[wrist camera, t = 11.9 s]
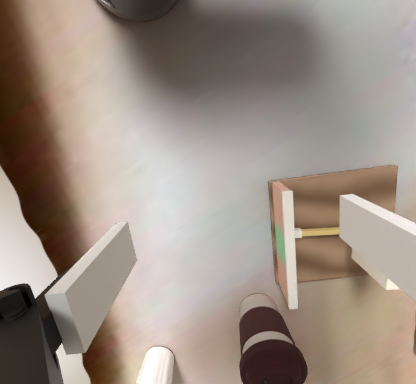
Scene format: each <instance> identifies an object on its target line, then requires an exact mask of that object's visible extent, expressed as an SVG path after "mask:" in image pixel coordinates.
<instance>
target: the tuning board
mask: <svg viewBox="0 0 416 384" xmlns="http://www.w3.org/2000/svg"><path fill="white" fill-rule="evenodd" d="M397 169H398V166H395V165H389V166H381V167H373V168H365V169H358V170H350V171H342V172H334V173H327V174H319V175H311V176H303V177H296V178H288V179H280V180H272V181H268V188H269V202H270V216H271V230H272V243H273V257H274V271H275V281H276V283H277V284H279V278H278V263H277V248H276V234H275V219H274V204H273V189H272V182H278V181H279V182H281V183H282V184H283V185H284V186H286V187H287V188H288V189H289V190H291V191H293V207H294V228H300V229H315V228H333V227H339V221H340V195H348V194H354V195H356V196H358V197H360V198H363V199H365V200H367V201H369V202H371V203H373V204H375V205H378V206H380V207H382V208H384V209H386V210H388V211H390V212H392V213H394V211H395V197H396V183H397ZM295 252H296V274H297V282H301V281H310V280H319V279H328V278H338V277H347V276H356V275H365V274H368V273H367V272H366V271H365V270H364V269H363V268H362V267H361V266H360V265H359V264H358V263H357V262H355V261H354V260H353V259H352V258H351V256H352V247H351V246H349V245H348V244H347V243H346V242H345V241H344V240H342V239H341V238H340V237H339V234H335V235H316V236H302V238H295Z"/></svg>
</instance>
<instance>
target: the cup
mask: <svg viewBox="0 0 416 384" xmlns="http://www.w3.org/2000/svg"><path fill="white" fill-rule="evenodd" d="M173 365H174V355H173V354H172V352H171V351H170V350H168V349H167V348H164V347H153V348H151V349H149V350H148V351H147V353H146V355H145V358H144V361H143V364H142V367H141V370H140V373H139V376H138V379H137V382H136V384H171V383H172V374H173Z"/></svg>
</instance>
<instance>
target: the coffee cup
mask: <svg viewBox="0 0 416 384" xmlns="http://www.w3.org/2000/svg"><path fill="white" fill-rule="evenodd" d="M239 327H240V344H241V356H242V357H241V360H240V375H241V380H242V382H243V384H303V383H304V382H305V379H306V377H307V365H306V362H305V360H304V357H303V355H302V353H301V351H300V350H299V349H298V348H297V347H296V346H295V343H294V341H293V339H292V337H291V335H290V332H289V330H288V328H287V326H286V324H285V322H284V320H283V318H282V316H281V314H280V313H279V312H278V309H277V307H276V305H275V303H274V301H273V300H272V299H271V298H270V297H268V296H266V295H264V294H253V295H250V296H248V297H246V298H245V299H244V300H243V301H242V303H241V305H240V325H239Z"/></svg>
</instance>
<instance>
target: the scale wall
mask: <svg viewBox="0 0 416 384" xmlns="http://www.w3.org/2000/svg"><path fill="white" fill-rule="evenodd" d="M272 189H273V204H274V219H275V234H276V248H277V263H278V278H279V285H280V288H281V290H282V292H283V294H284V297H285V299H286V301H287V304H288V307H289V310H290V309H298V297H297V274H296V252H295V230H294V207H293V191H291V190H289V189H288V188H287V187H286V186H284V185H283V184H282V183H281V182H279V181H278V182H272Z"/></svg>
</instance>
